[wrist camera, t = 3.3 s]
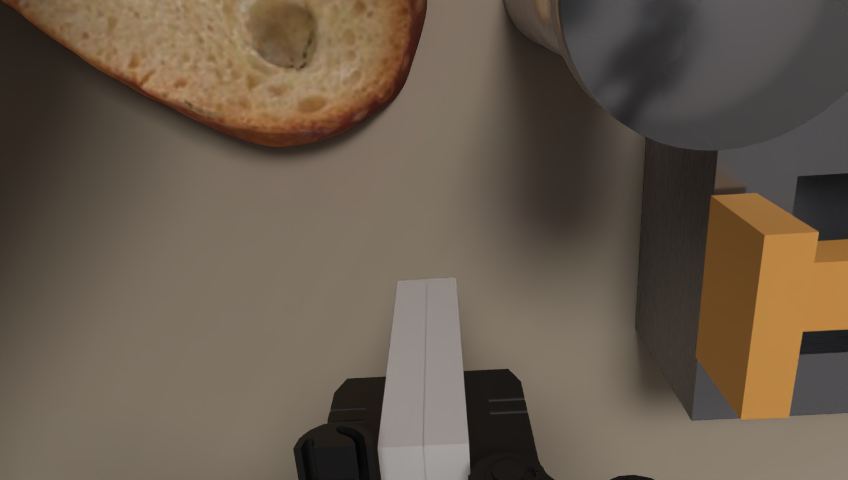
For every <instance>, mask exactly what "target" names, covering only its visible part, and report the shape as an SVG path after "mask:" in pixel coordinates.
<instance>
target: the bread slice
mask: <svg viewBox="0 0 848 480" xmlns="http://www.w3.org/2000/svg"><path fill="white" fill-rule="evenodd" d="M0 1H1V2H3V3H5V4H7V5H9V6H10V7H12V8H13V9H15V10H16V11H17V12H19V13H20V14H21V15H22V16H23V17H24V18H26V19H27V20H28V21H29V22H31V23H32V24H33V25H34V26H36V27H37V28H39V29H40V30H41V31H43V32H44V33H46V34H47V35H48V36H50V37H51V38H53V39H54V40H56V41H57V42H59V43H60V44H62V45H63V46H65V47H66V48H68V49H70V50H71V51H73V52H74V53H75V54H77V55H78V56H79V57H81V58H82V59H83V60H85V61H86V62H88V63H89V64H90V65H92V66H93V67H95V68H97V69H98V70H100V71H102V72H103V73H105V74H107V75H109V76H111V77H113V78H115V79H116V80H118V81H120V82H122V83H124V84H125V85H127V86H129V87H130V88H132V89H134V90H135V91H137V92H139V93H140V94H142V95H144V96H146V97H148V98H150V99H152V100H154V101H156V102H158V103H161V104H164V105H167V106H169V107H171V108H173V109H175V110H176V111H178V112H180V113H182V114H184V115H185V116H188V117H190V118H192V119H194V120H196V121H198V122H200V123H203V124H205V125H207V126H209V127H211V128H213V129H216V130H218V131H220V132H223V133H225V134H228V135H230V136H233V137H236V138H239V139H242V140H245V141H248V142H252V143H256V144H260V145H265V146H271V147H284V146H293V145H303V144H308V143H313V142H317V141H320V140H324V139H327V138H330V137H333V136H336V135H338V134H340V133H343V132H345V131H346V130H348V129H350V128H352V127H353V126H355V125H357V124H359V123H361V122H362V121H364V120H365V119H367V118H368V117H370V116H371V115H373V114H374V113H376V112H377V111H379V110H380V109H382V108H383V107H385V106H386V105H388V104H389V103H390V102H391V101H393V100H394V99H395V97H396V96H397V95H398V94H399V92H400V91H401V89H402V88H403V86H404V84H405V82H406V80H407V77H408V74H409V72H410V68H411V65H412V61H413V58H414V55H415V52H416V49H417V46H418V43H419V39H420V36H421V32H422V28H423V24H424V20H425V15H426V9H427V0H0Z"/></svg>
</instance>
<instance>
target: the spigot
mask: <svg viewBox="0 0 848 480" xmlns="http://www.w3.org/2000/svg"><path fill="white" fill-rule="evenodd" d="M504 3H505V7H506V10H507V13H508V15H509V17H510V19H511V21H512V22H513V24H514V25H515V26H516V28H517V29H518V30H519V31H520V32H521V33H522V34H523V35H524V36H526V37H527V38H528V39H530V40H532V41H533V42H535V43H537V44H539V45H541V46H543V47H545V48H547V49H549V50H551V51H553V52H555V53H557V54H559V55H561V56H563V58H564V60H565V62H566V64H567V66H568V69H569V71H570V72H571V74H572V75H573V77H574V78H575V80H576V81H577V83H578V84H579V86H580V87H581V88H582V89H583V90H584V91H585V92H586V94H587V95H588V96H589V97H590V98H591V99H592V100H593V101H594V102H595V103H596V104H597V105H599V106H600V107H601V108H602V109H604V110H605V111H606V112H607V113H609V114H610V115H611V116H613V117H614V118H616V119H617V120H619V121H620V122H621V123H623V124H624V125H626V126H628V127H629V128H631V129H633V130H634V131H636V132H637V133H639V134H641V135H643V136H645V137H648V138H650V139H652V140H655V141H657V142H659V143H663V144H667V145H670V146H674V147H678V148H684V149H692V150H728V149H736V148H742V147H746V146H750V145H754V144H758V143H762V142H765V141H768V140H770V139H773V138H776V137H778V136H781V135H783V134H785V133H787V132H789V131H791V130H793V129H795V128H797V127H799V126H801V125H803V124H805V123H806V122H808V121H809V120H811V119H812V118H814V117H815V116H817V115H818V114H820V113H822V112H823V111H824V110H826V109H827V108H828V107H829V106H831V105H832V104H833V103H834V102H835V101H837V100H838V99H839V98H840V97H841V96H843V95H844V94H845V93H846V92H847V91H848V0H504Z"/></svg>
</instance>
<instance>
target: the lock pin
mask: <svg viewBox="0 0 848 480" xmlns="http://www.w3.org/2000/svg"><path fill="white" fill-rule="evenodd" d="M818 236H819V232H818V231H817V230H815V229H813V228H812V227H810V226H809V225H807V224H805V223H804V222H802V221H801V220H799V219H797V218H796V217H794V216H793V215H791V214H789V213H788V212H786V211H785V210H783V209H781V208H780V207H778V206H777V205H775V204H773V203H772V202H770V201H769V200H767V199H765V198H764V197H762V196H761V195H759V194H757V193H746V194H730V195H713V196H711V202H710V212H709V222H708V233H707V243H706V254H705V264H704V274H703V285H702V295H701V306H700V316H699V326H698V337H697V347H696V358H697V360H698V361H699V363H700V364H701V365H702V367H703V368H704V369H705V371H706V372H707V374H708V375H709V376H710V378H711V379H712V381H713V382H714V383H715V385H716V386H717V388H718V389H719V390H720V392H721V393H722V394H723V396H724V397H725V399H726V400H727V401H728V403H729V404H730V406H731V407H732V408H733V410H734V411H735V413H736V414H737V415H738V417H739V418H740V419H741V420H747V419H768V418H788V417H789V414H790V408H791V402H792V396H793V390H794V383H795V377H796V371H797V365H798V359H799V353H800V346H801V340H802V334H803V332H808V331H826V330H845V329H848V239H843V240H826V241H818Z"/></svg>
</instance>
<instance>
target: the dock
mask: <svg viewBox="0 0 848 480" xmlns="http://www.w3.org/2000/svg"><path fill="white" fill-rule="evenodd" d="M746 193H757V194H759V195H761V196H762V197H764V198H765V199H767V200H769V201H770V202H772V203H773V204H775V205H777V206H778V207H780V208H781V209H783V210H785V211H786V212H788V213H789V214H791V215H793V216H794V217H796V218H797V219H799V220H801V221H802V222H804V223H805V224H807V225H809V226H810V227H812V228H813V229H815V230H817V231H818V232H819V236H818V241H826V240H843V239H848V91H847V92H846V93H845V94H844V95H843V96H841V97H840V98H839V99H838V100H837V101H835V102H834V103H833V104H832V105H831V106H829V107H828V108H827V109H826V110H824V111H823V112H822V113H820V114H818V115H817V116H815V117H814V118H812V119H811V120H809V121H808V122H806V123H805V124H803V125H801V126H799V127H797V128H795V129H793V130H791V131H789V132H787V133H785V134H783V135H781V136H778V137H776V138H773V139H770V140H768V141H765V142H762V143H758V144H754V145H750V146H746V147H742V148H736V149H728V150H692V149H684V148H678V147H674V146H670V145H667V144H663V143H659V142H657V141H655V140H652V139H650V138H648V137H646V151H645V168H644V186H643V203H642V221H641V239H640V256H639V274H638V292H637V309H636V327H635V328H636V329H637V331H638V333H639V334H640V336H641V338H642V339H643V341H644V343H645V344H646V346H647V348H648V349H649V351H650V352H651V354H652V356H653V357H654V359H655V361H656V362H657V364H658V366H659V367H660V369H661V371H662V372H663V374H664V376H665V377H666V379H667V381H668V382H669V384H670V386H671V387H672V389H673V391H674V392H675V394H676V395H677V397H678V399H679V400H680V402H681V404H682V405H683V407H684V409H685V410H686V412H687V414H688V415H689V417H690V419H691V420H692V421H694V420H714V419H734V418H739V417H738V415H737V414H736V413H735V411H734V410H733V408H732V407H731V406H730V404H729V403H728V401H727V400H726V399H725V397H724V396H723V394H722V393H721V392H720V390H719V389H718V388H717V386H716V385H715V383H714V382H713V381H712V379H711V378H710V376H709V375H708V374H707V372H706V371H705V369H704V368H703V367H702V365H701V364H700V363H699V361H698V360H697V358H696V347H697V337H698V326H699V316H700V306H701V295H702V285H703V274H704V264H705V254H706V243H707V233H708V222H709V212H710V202H711V196H713V195H730V194H746ZM836 413H848V329H845V330H826V331H808V332H803V334H802V340H801V346H800V353H799V359H798V365H797V371H796V377H795V383H794V390H793V396H792V402H791V408H790V414H789V416H795V415H816V414H836Z"/></svg>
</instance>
